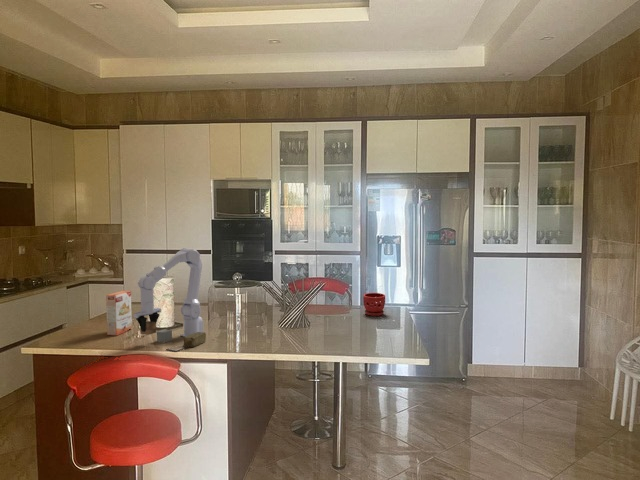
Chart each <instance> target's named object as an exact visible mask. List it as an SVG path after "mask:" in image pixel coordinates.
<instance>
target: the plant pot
mask: <svg viewBox="0 0 640 480" xmlns="http://www.w3.org/2000/svg"><path fill="white" fill-rule="evenodd" d="M362 298H363V300H362V301H363V306H364V314H366V315H368V316H373V317H376V316H378V317H379V316H382V315H383V314H385V313H384V312H385V310H384V309H385V305H386V294H384V293H380V292H367V293H364V294H363V297H362Z"/></svg>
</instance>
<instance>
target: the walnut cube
mask: <svg viewBox="0 0 640 480" xmlns="http://www.w3.org/2000/svg"><path fill="white" fill-rule="evenodd" d="M139 329H140V334H141V335H146V336H148V335H153V334H157V322H151V321H150V320H146V331H145V332H142V331H141V328H140V327H139Z"/></svg>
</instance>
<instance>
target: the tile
mask: <svg viewBox="0 0 640 480" xmlns="http://www.w3.org/2000/svg"><path fill="white" fill-rule="evenodd" d="M186 348H187V347H185V346H179V345H176V346H172V347H169V348H165V351H168V350H170V351H169V352H173V351H174V353H177V351H178V352H180V350H181V351H183V349H184V350H186Z"/></svg>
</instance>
